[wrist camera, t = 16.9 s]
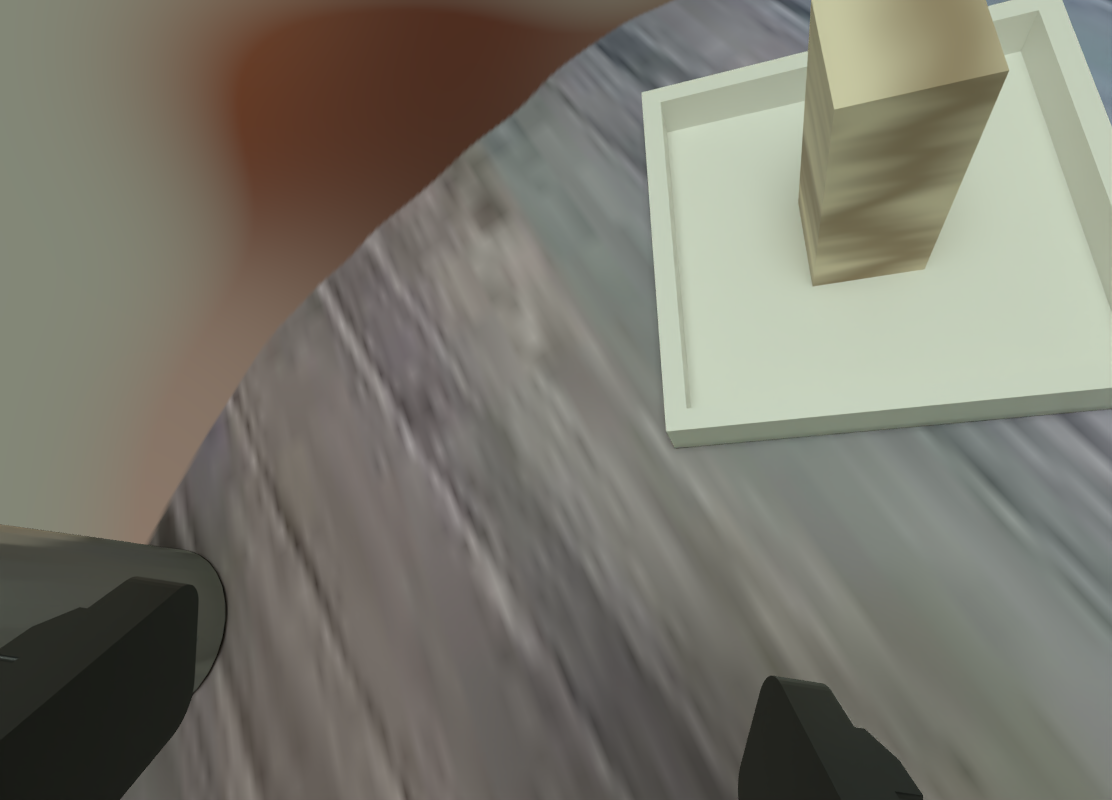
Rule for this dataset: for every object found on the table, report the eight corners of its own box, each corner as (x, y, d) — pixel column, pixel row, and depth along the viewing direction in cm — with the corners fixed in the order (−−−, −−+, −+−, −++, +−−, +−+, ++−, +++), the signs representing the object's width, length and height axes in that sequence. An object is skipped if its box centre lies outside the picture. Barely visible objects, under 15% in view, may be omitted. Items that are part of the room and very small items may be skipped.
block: (812, 286, 32) (834, 109, 21) (798, 202, 33) (811, -1, 23) (924, 269, 30) (1009, 70, 20) (903, 183, 32) (971, -44, 21)
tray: (674, 448, 32) (666, 431, 29) (650, 130, 39) (641, 92, 36) (1164, 404, 26) (1210, 378, 23) (1034, 41, 33) (1057, -12, 30)
